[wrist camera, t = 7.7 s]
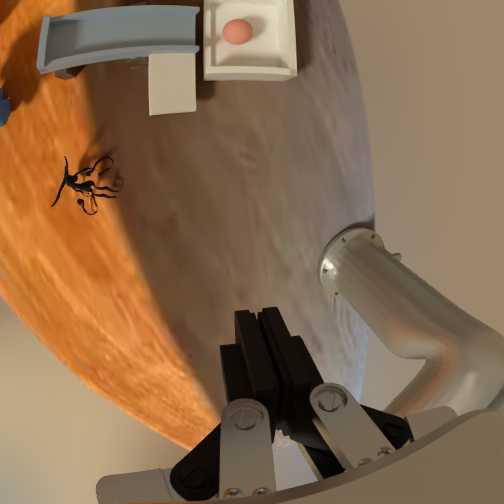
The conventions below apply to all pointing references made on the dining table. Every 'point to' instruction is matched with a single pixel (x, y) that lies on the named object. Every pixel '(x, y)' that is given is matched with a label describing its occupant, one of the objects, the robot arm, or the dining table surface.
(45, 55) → the lever
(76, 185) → the creature
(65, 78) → the post
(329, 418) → the robot arm
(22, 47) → the dining table surface
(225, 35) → the ball
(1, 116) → the grapes
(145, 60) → the pivot stand
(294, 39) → the tray
